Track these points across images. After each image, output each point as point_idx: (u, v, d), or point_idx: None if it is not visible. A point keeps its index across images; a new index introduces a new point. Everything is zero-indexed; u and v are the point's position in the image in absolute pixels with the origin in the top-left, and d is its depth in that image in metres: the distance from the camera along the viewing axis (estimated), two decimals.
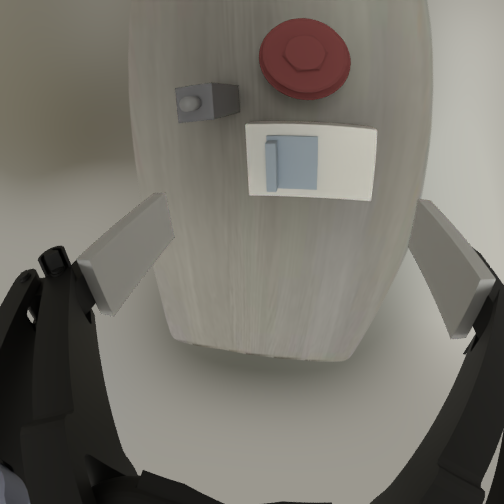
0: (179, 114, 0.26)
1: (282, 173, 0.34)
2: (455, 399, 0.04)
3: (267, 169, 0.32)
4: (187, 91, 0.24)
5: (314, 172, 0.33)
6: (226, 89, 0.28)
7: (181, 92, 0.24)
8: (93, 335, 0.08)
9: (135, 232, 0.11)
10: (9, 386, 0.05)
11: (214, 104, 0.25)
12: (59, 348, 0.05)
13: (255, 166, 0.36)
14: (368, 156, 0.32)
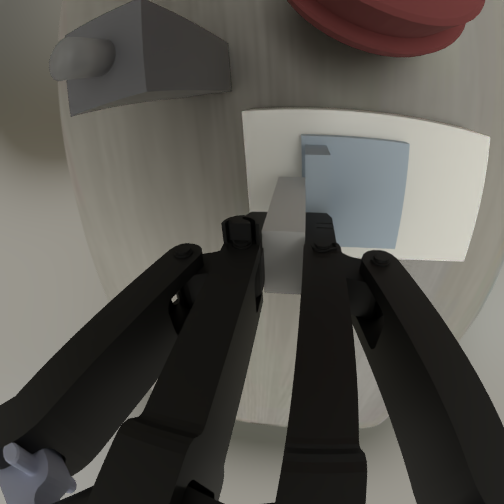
0: (71, 94, 0.08)
1: (333, 217, 0.16)
2: None
3: None
4: (86, 34, 0.06)
5: (396, 216, 0.15)
6: (197, 34, 0.11)
7: None
8: (254, 326, 0.09)
9: None
10: (107, 384, 0.05)
11: (148, 51, 0.07)
12: (216, 343, 0.06)
13: (265, 199, 0.18)
14: (474, 185, 0.14)
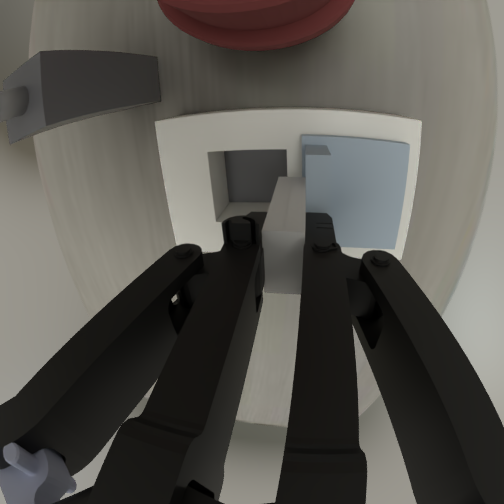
0: (8, 128, 0.09)
1: (332, 217, 0.16)
2: None
3: None
4: (13, 81, 0.07)
5: (395, 216, 0.15)
6: (108, 60, 0.12)
7: (8, 86, 0.08)
8: (254, 326, 0.09)
9: None
10: (107, 384, 0.05)
11: (47, 93, 0.08)
12: (216, 343, 0.06)
13: (180, 199, 0.19)
14: None
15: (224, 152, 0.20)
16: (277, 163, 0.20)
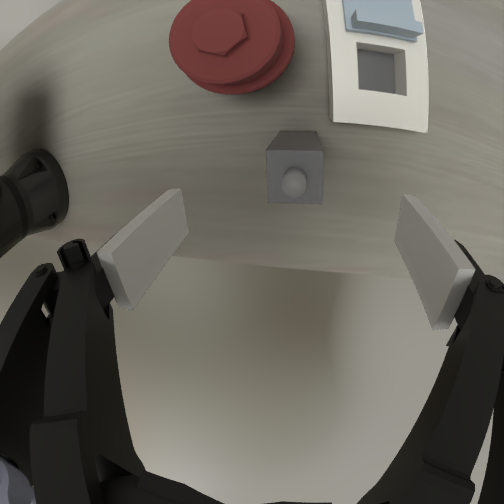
0: (309, 201, 0.20)
1: None
2: (439, 392, 0.05)
3: (393, 24, 0.14)
4: (275, 185, 0.20)
5: None
6: (281, 138, 0.23)
7: (276, 194, 0.20)
8: (110, 331, 0.08)
9: (153, 227, 0.12)
10: (19, 383, 0.05)
11: (300, 149, 0.18)
12: (75, 344, 0.05)
13: (390, 116, 0.22)
14: None
15: None
16: (366, 57, 0.22)
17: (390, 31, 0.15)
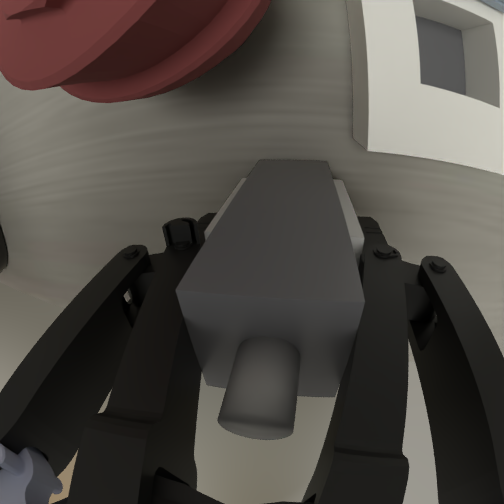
0: (304, 393, 0.07)
1: None
2: (346, 371, 0.06)
3: None
4: (218, 364, 0.07)
5: None
6: (251, 197, 0.10)
7: (222, 377, 0.07)
8: None
9: None
10: (74, 378, 0.05)
11: (287, 287, 0.06)
12: (165, 338, 0.06)
13: (473, 146, 0.09)
14: None
15: None
16: (419, 29, 0.09)
17: None
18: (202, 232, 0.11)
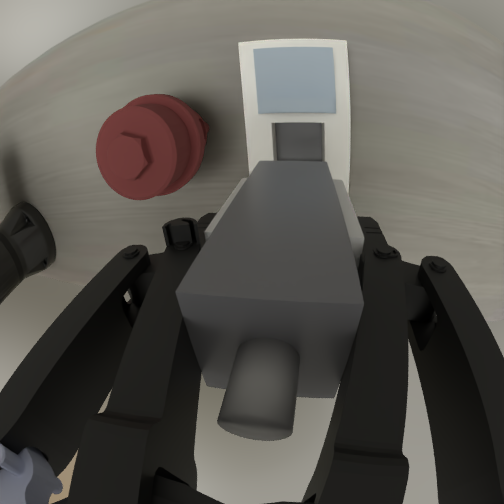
0: (303, 394, 0.07)
1: (312, 92, 0.21)
2: (346, 371, 0.06)
3: (298, 109, 0.19)
4: (218, 365, 0.07)
5: (306, 50, 0.19)
6: (251, 198, 0.10)
7: (222, 378, 0.08)
8: None
9: None
10: (74, 378, 0.05)
11: (286, 289, 0.06)
12: (165, 338, 0.06)
13: None
14: None
15: None
16: (292, 128, 0.27)
17: None
18: (202, 232, 0.11)
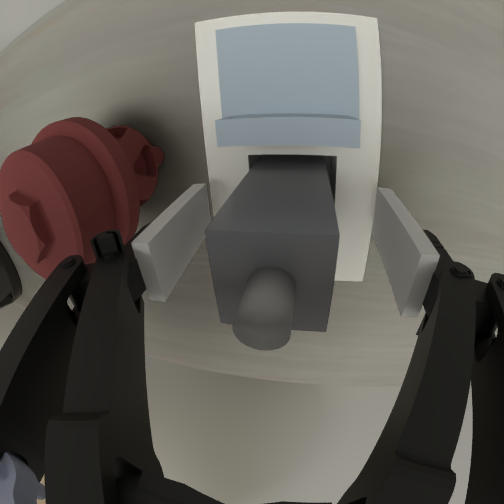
0: (300, 326, 0.10)
1: (318, 103, 0.12)
2: (410, 383, 0.05)
3: (291, 140, 0.11)
4: (232, 298, 0.10)
5: (308, 29, 0.10)
6: (258, 176, 0.13)
7: (234, 312, 0.10)
8: (140, 325, 0.09)
9: (184, 219, 0.12)
10: (36, 379, 0.05)
11: (284, 227, 0.08)
12: (103, 339, 0.06)
13: None
14: None
15: None
16: None
17: None
18: None
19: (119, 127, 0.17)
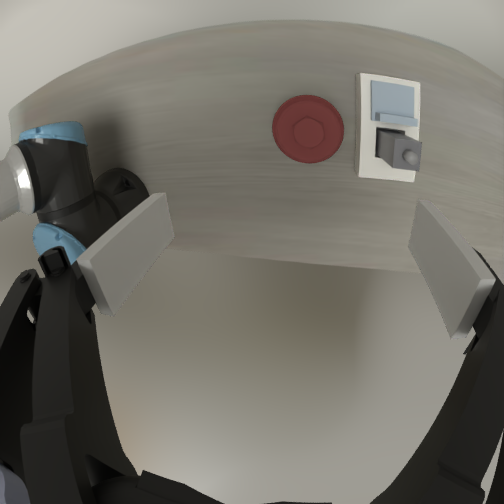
0: (413, 169, 0.30)
1: (402, 112, 0.33)
2: (455, 399, 0.04)
3: (400, 122, 0.31)
4: (397, 158, 0.30)
5: (400, 86, 0.30)
6: (387, 133, 0.34)
7: (397, 163, 0.31)
8: (93, 335, 0.08)
9: (135, 232, 0.11)
10: (9, 386, 0.05)
11: (410, 140, 0.29)
12: (59, 348, 0.05)
13: (392, 173, 0.39)
14: (383, 81, 0.32)
15: None
16: None
17: None
18: None
19: None
